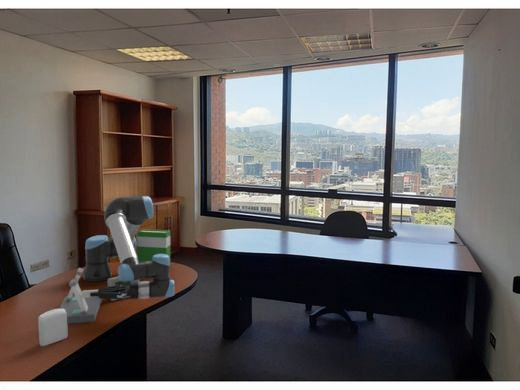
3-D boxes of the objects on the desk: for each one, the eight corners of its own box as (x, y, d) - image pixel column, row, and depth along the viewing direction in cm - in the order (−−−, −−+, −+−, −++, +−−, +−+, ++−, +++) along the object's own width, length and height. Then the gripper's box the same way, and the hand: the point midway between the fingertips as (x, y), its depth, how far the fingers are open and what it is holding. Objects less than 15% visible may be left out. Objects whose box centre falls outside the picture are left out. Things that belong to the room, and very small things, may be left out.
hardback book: (137, 270, 247) (137, 231, 244) (142, 267, 255) (142, 229, 252) (166, 272, 246) (166, 232, 243) (170, 268, 253) (170, 230, 250)
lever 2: (89, 307, 183) (76, 277, 180) (87, 312, 177) (74, 281, 175) (84, 309, 182) (71, 279, 179) (81, 314, 177) (68, 283, 174)
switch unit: (101, 300, 200) (101, 294, 200) (94, 321, 177) (94, 314, 177) (65, 302, 197) (65, 296, 196) (53, 324, 173) (53, 317, 173)
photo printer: (42, 347, 154) (40, 316, 153) (37, 343, 157) (35, 312, 155) (69, 338, 162) (68, 308, 160) (64, 334, 165) (63, 305, 163)
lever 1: (72, 297, 196) (84, 269, 195) (70, 302, 191) (82, 272, 190) (67, 296, 195) (78, 267, 195) (64, 300, 190) (76, 271, 189)
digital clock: (109, 302, 198) (109, 281, 197) (105, 296, 206) (105, 275, 205) (143, 296, 207) (143, 276, 206) (138, 290, 215) (138, 271, 213)
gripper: (138, 303, 178) (80, 308, 172) (139, 293, 191) (84, 297, 185) (138, 287, 177) (79, 290, 172) (139, 277, 190) (84, 280, 184)
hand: (82, 294), depth 178 cm, fingers closed
